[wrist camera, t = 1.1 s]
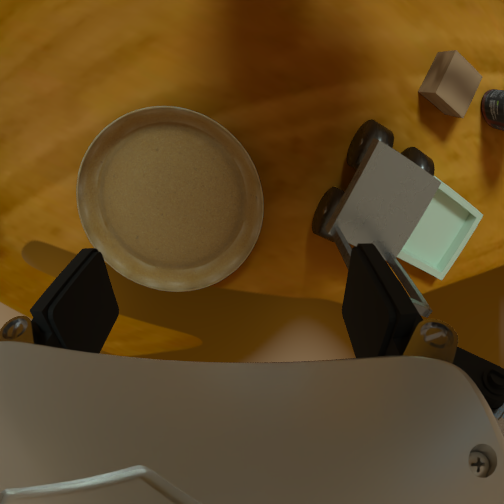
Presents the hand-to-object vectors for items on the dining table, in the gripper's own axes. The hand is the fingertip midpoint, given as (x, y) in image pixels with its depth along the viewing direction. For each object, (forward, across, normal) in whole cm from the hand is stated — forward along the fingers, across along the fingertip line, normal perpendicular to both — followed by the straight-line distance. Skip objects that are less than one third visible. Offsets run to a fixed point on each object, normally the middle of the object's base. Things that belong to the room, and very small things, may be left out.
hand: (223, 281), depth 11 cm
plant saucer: (+27, +10, +6) cm, 30 cm away
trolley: (+27, -15, +4) cm, 31 cm away
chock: (+27, -25, -11) cm, 39 cm away
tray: (+27, -26, +10) cm, 39 cm away
